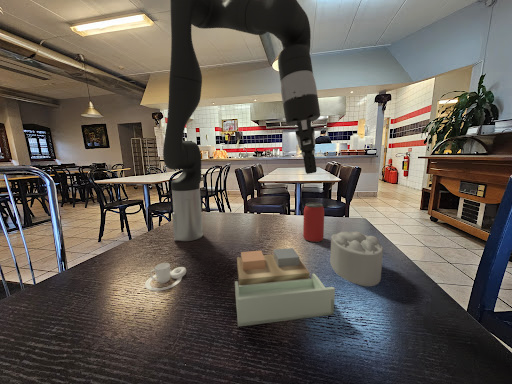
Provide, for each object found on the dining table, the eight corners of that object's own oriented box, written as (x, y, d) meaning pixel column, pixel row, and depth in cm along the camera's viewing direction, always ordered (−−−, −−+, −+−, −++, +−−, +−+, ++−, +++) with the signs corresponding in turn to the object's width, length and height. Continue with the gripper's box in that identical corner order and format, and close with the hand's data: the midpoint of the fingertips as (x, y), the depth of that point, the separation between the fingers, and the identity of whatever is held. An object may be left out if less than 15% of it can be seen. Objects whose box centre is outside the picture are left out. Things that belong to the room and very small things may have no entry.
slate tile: (278, 267, 49) (278, 258, 49) (273, 257, 54) (273, 249, 54) (299, 265, 50) (299, 257, 50) (292, 255, 55) (292, 247, 54)
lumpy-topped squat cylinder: (364, 258, 59) (366, 227, 58) (393, 286, 46) (396, 248, 45) (326, 258, 59) (327, 228, 58) (344, 286, 47) (346, 248, 45)
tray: (237, 326, 36) (236, 299, 35) (235, 294, 44) (234, 272, 44) (333, 314, 38) (335, 288, 38) (314, 286, 47) (314, 264, 46)
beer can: (324, 243, 69) (325, 206, 67) (303, 242, 71) (304, 206, 69) (322, 235, 76) (323, 202, 74) (303, 234, 77) (303, 201, 75)
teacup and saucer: (187, 271, 55) (186, 256, 54) (183, 290, 47) (181, 272, 46) (151, 274, 53) (149, 259, 53) (139, 295, 46) (137, 277, 45)
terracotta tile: (243, 270, 48) (242, 261, 48) (241, 259, 53) (241, 252, 53) (265, 268, 49) (265, 260, 48) (261, 258, 54) (261, 250, 53)
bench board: (240, 292, 45) (239, 279, 44) (237, 268, 55) (236, 257, 54) (308, 285, 47) (309, 272, 47) (294, 263, 57) (294, 252, 56)
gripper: (285, 112, 55) (295, 175, 56) (278, 92, 41) (292, 176, 42) (316, 104, 53) (325, 170, 54) (319, 82, 40) (332, 170, 41)
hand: (311, 172), depth 48 cm, fingers open, 8 cm apart
